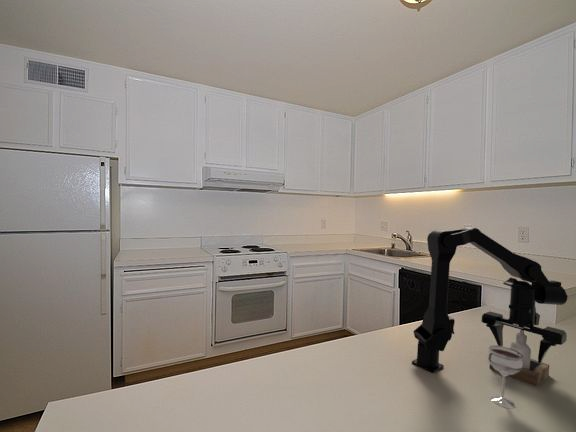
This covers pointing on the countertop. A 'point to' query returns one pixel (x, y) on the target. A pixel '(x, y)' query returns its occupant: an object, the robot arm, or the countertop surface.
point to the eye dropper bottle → (522, 348)
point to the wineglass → (504, 369)
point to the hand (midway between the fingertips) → (519, 355)
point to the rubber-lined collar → (532, 373)
